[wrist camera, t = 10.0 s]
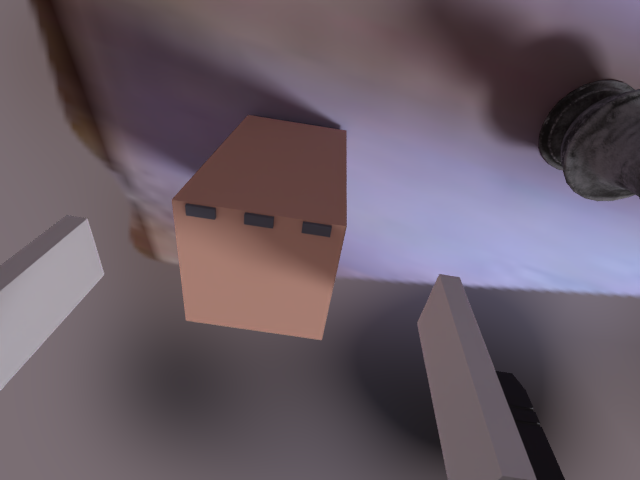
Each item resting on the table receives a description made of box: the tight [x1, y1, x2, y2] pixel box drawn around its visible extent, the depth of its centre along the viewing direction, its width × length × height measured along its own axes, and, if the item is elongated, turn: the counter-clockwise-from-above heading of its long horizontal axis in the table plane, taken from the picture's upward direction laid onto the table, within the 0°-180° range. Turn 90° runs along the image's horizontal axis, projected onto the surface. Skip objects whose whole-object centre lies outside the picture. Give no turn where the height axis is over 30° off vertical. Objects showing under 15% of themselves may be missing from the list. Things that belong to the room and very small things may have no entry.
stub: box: [172, 115, 347, 340], centre depth 18 cm, size 6×6×11 cm
